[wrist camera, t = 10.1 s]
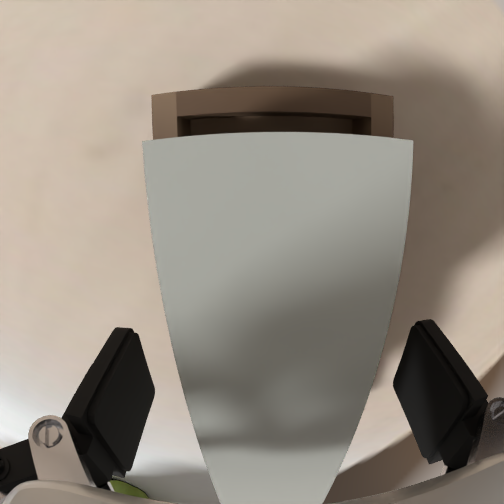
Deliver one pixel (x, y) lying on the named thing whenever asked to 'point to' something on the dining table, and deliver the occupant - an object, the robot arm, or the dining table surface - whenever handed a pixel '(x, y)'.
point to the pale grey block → (277, 295)
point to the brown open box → (271, 111)
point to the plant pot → (127, 489)
